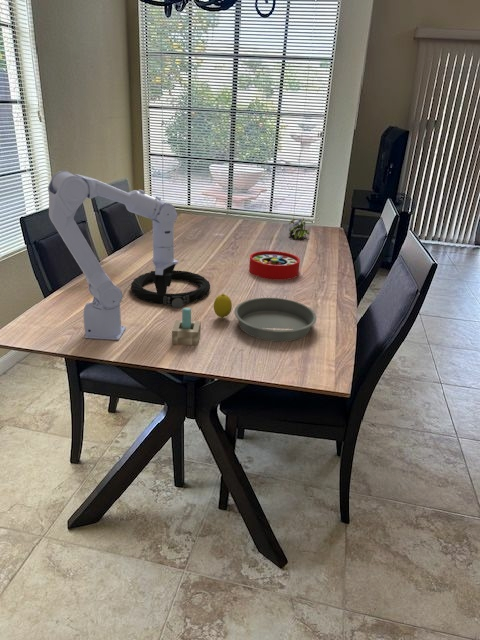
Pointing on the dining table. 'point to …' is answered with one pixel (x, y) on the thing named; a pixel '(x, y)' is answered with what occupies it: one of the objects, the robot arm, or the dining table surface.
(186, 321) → the peg
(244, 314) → the cake pan
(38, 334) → the dining table surface
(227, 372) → the dining table surface
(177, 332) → the beige socket block
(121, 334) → the robot arm
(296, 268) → the toy clock
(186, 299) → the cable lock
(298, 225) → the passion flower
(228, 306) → the lemon
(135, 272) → the dining table surface
